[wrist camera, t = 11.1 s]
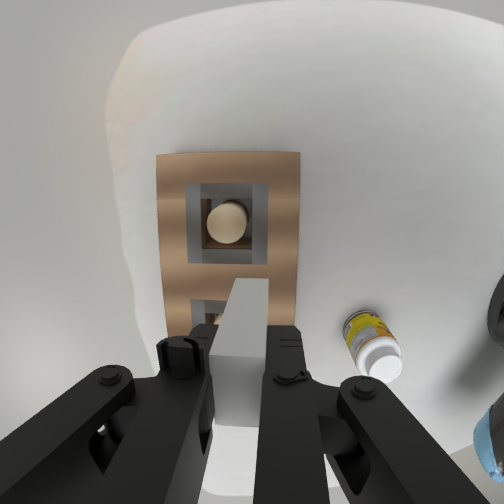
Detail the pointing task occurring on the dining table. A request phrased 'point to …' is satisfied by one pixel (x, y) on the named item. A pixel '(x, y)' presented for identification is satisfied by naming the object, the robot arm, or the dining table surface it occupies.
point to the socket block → (221, 254)
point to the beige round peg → (228, 221)
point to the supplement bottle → (373, 346)
